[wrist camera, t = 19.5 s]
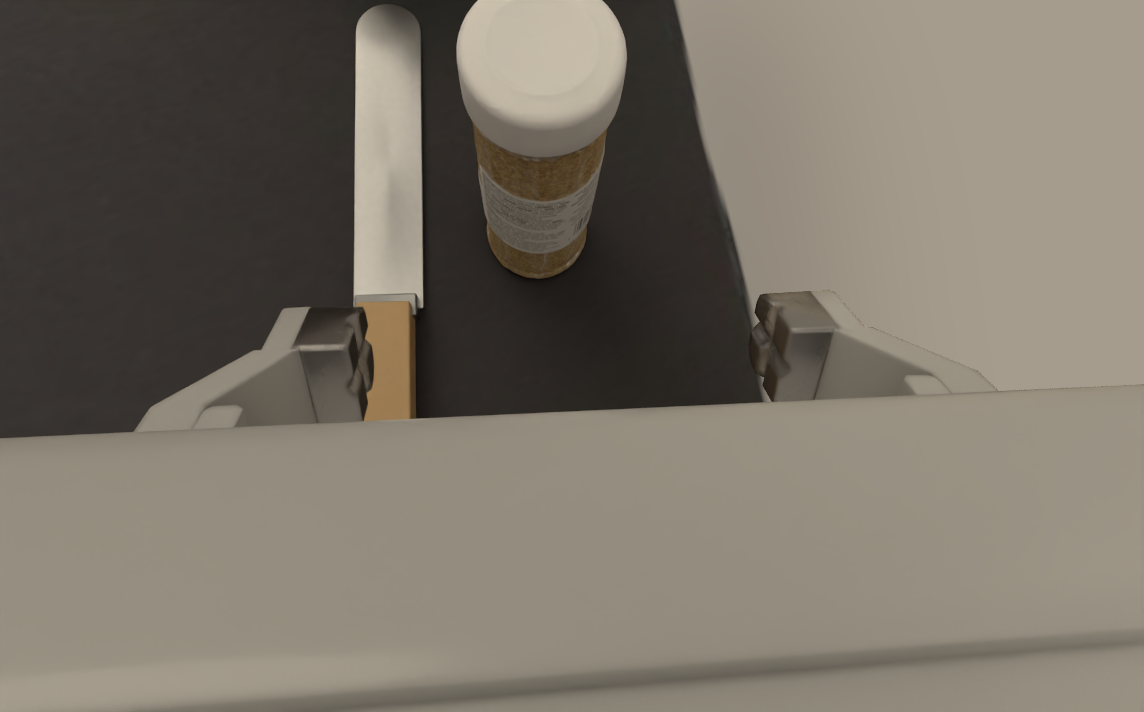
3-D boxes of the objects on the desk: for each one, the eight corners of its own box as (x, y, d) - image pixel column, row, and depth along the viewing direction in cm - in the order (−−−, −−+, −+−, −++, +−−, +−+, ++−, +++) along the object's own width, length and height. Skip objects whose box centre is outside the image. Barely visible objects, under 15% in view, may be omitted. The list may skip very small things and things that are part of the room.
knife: (357, 7, 32) (349, -17, 31) (421, 8, 32) (416, -16, 31) (353, 499, 28) (343, 499, 26) (427, 495, 28) (421, 495, 27)
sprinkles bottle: (525, 170, 31) (522, -64, 18) (605, 224, 31) (663, 28, 18) (466, 245, 30) (418, 58, 17) (549, 302, 30) (565, 156, 17)
